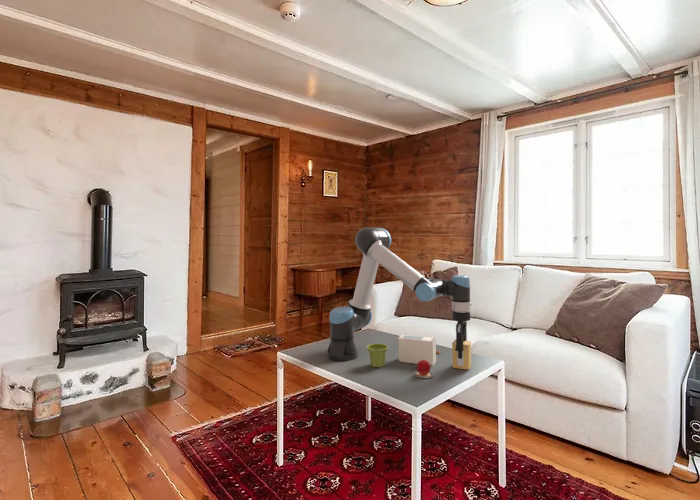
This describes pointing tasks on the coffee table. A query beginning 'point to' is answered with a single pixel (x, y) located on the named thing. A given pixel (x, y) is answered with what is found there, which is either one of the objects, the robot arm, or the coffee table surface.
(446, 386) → the coffee table surface
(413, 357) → the white box
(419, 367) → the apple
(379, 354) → the plant pot
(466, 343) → the stub
